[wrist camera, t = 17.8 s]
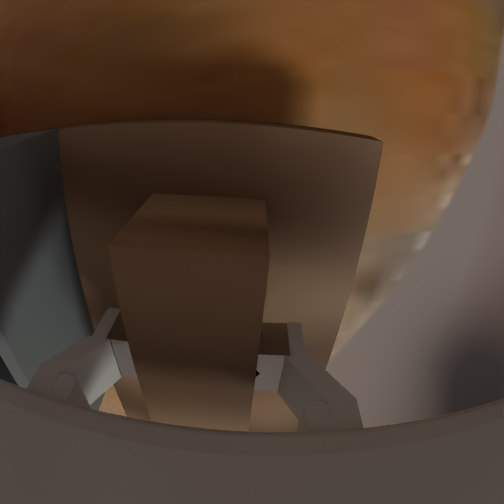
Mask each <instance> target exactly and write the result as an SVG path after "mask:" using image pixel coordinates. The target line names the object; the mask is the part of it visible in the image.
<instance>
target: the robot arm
mask: <svg viewBox="0 0 504 504" xmlns="http://www.w3.org/2000/svg"><path fill="white" fill-rule="evenodd" d="M121 376H125V377H132V378H138V377H137V374H136V370H135V367H134V363H133V360H132V356H131V353H130V349H129V345H128V341H127V337H126V333H125V329H124V325H123V321H122V316H121V312H120V308H113V307H110V308H108V309H107V310H106V312H105V314H104V316H103V317H102V319H101V321H100V323H99V325H98V326H97V328H96V330H95V332H94V334H93V336H88V337H86V338H84V339H82V340H81V341H79V342H77V343H76V344H74V345H72V346H71V347H69V348H67V349H66V350H64V351H62V352H60V353H59V354H57V355H55V356H54V357H52V358H50V359H49V360H47V361H45V362H44V363H42V364H40V365H39V367H38V369H37V371H36V372H35V374H34V376H33V378H32V379H31V381H30V383H29V385H28V387H27V388H26V389H25V388H23V387H20V386H17V385H15V384H12V383H9V382H7V381H4V380H2V379H0V504H504V399H502V400H499V401H495V402H492V403H489V404H486V405H483V406H479V407H475V408H471V409H468V410H464V411H460V412H456V413H451V414H447V415H443V416H438V417H433V418H428V419H424V420H417V421H412V422H406V423H400V424H394V425H385V426H378V427H369V428H363V424H362V420H361V416H360V412H359V408H358V404H357V400H356V398H355V397H354V396H353V395H352V394H351V393H350V392H349V391H347V390H346V389H345V388H344V387H343V386H342V385H341V384H340V383H339V382H338V381H337V380H336V379H334V378H333V377H332V376H331V375H330V374H329V373H328V372H327V371H326V370H325V369H324V368H323V367H322V366H321V365H320V364H319V363H318V362H316V361H315V360H314V359H313V358H312V357H307V352H306V346H305V340H304V335H303V329H302V324H301V323H298V322H286V323H284V322H262V329H261V338H260V346H259V354H258V362H257V370H256V378H255V385H254V390H259V391H277V392H278V394H279V395H280V396H281V398H282V399H283V400H284V402H285V403H286V405H287V406H288V407H289V409H290V410H291V411H292V413H293V414H294V415H295V417H296V418H297V419H298V421H299V423H298V426H297V428H296V431H295V432H248V431H230V430H216V429H205V428H196V427H187V426H179V425H172V424H165V423H159V422H152V421H147V420H141V419H136V418H130V417H125V416H121V415H116V414H111V413H107V412H103V411H99V410H95V409H92V408H91V406H90V405H91V404H92V403H93V402H94V401H95V400H96V399H97V398H98V397H100V396H101V395H102V394H103V393H104V392H105V391H106V390H108V389H109V388H110V387H111V386H112V385H113V384H114V383H116V382H117V381H118V380H119V379H120V378H121Z"/></svg>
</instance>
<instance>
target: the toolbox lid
mask: <svg viewBox="0 0 504 504" xmlns="http://www.w3.org/2000/svg"><path fill="white" fill-rule="evenodd" d="M58 133H59V148H60V161H61V171H62V180H63V188H64V196H65V203H66V210H67V216H68V222H69V228H70V233H71V239H72V244H73V249H74V253H75V258H76V263H77V267H78V271H79V276H80V280H81V284H82V288H83V292H84V295H85V299H86V303H87V306H88V310H89V313H90V317H91V320H92V323H93V327H94V330H96V328H97V326H98V325H99V323H100V321H101V319H102V317H103V316H104V314H105V312H106V310H107V309H108V308H110V307H113V308H120V312H121V316H122V321H123V325H124V329H125V333H126V337H127V341H128V345H129V349H130V353H131V356H132V360H133V363H134V367H135V370H136V374H137V377H138V378H132V377H125V376H121V378H120V379H119V380H118V381H117V382H116V383H114V386H115V389H116V391H117V394H118V396H119V399H120V401H121V403H122V406H123V408H124V410H125V413H126V415H127V417H130V418H136V419H141V420H147V421H152V422H159V423H165V424H172V425H179V426H187V427H196V428H205V429H216V430H230V431H248V432H295V431H296V428H297V426H298V423H299V421H298V419H297V418H296V417H295V415H294V414H293V413H292V411H291V410H290V409H289V407H288V406H287V405H286V403H285V402H284V400H283V399H282V398H281V396H280V395H279V394H278V392H277V391H259V390H254V385H255V378H256V370H257V362H258V354H259V346H260V338H261V329H262V322H284V323H286V322H298V323H301V324H302V329H303V335H304V340H305V346H306V352H307V357H312V358H313V359H314V360H315V361H316V362H318V363H319V364H320V365H321V366H322V367H323V368H324V369H326V366H327V363H328V360H329V357H330V354H331V351H332V348H333V345H334V342H335V339H336V336H337V333H338V330H339V327H340V323H341V320H342V317H343V314H344V310H345V307H346V304H347V300H348V297H349V293H350V290H351V286H352V283H353V279H354V275H355V272H356V268H357V264H358V260H359V256H360V252H361V248H362V244H363V240H364V236H365V231H366V227H367V223H368V218H369V214H370V209H371V204H372V200H373V195H374V190H375V185H376V179H377V174H378V169H379V163H380V157H381V151H382V145H383V142H382V141H380V140H378V139H376V138H373V137H371V136H367V135H361V134H355V133H349V132H343V131H336V130H329V129H322V128H314V127H306V126H297V125H288V124H277V123H265V122H251V121H234V120H207V119H155V120H129V121H112V122H99V123H88V124H78V125H73V126H70V127H66V128H63V129H60V130H58Z"/></svg>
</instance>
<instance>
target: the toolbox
mask: <svg viewBox="0 0 504 504" xmlns="http://www.w3.org/2000/svg"><path fill="white" fill-rule="evenodd" d="M63 128H65V127H62V128H54V129H47V130H40V131H33V132H27V133H21V134H16V135H10V136H5V137H0V379H2V380H4V381H7V382H9V383H12V384H15V385H17V386H20V387H23V388H25V389H26V388H27V387H28V385H29V383H30V381H31V379H32V378H33V376H34V374H35V372H36V371H37V369H38V367H39V365H40V364H42V363H44V362H45V361H47V360H49V359H50V358H52V357H54V356H55V355H57V354H59V353H60V352H62V351H64V350H66V349H67V348H69V347H71V346H72V345H74V344H76V343H77V342H79V341H81V340H82V339H84V338H86V337H88V336H93V334H94V332H95V330H94V327H93V323H92V320H91V317H90V313H89V310H88V306H87V303H86V299H85V295H84V292H83V288H82V284H81V280H80V276H79V271H78V267H77V263H76V258H75V253H74V249H73V244H72V239H71V233H70V228H69V222H68V216H67V210H66V203H65V196H64V188H63V180H62V171H61V161H60V148H59V133H58V130H60V129H63ZM104 394H105V392H104V393H103V394H102V395H101V396H100V397H98V398H97V399H96V400H95V401H94V402H93V403H92V404H91V405H90V406H91V408H92V409H95V410H99V407H100V404H101V402H102V399H103V396H104Z"/></svg>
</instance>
